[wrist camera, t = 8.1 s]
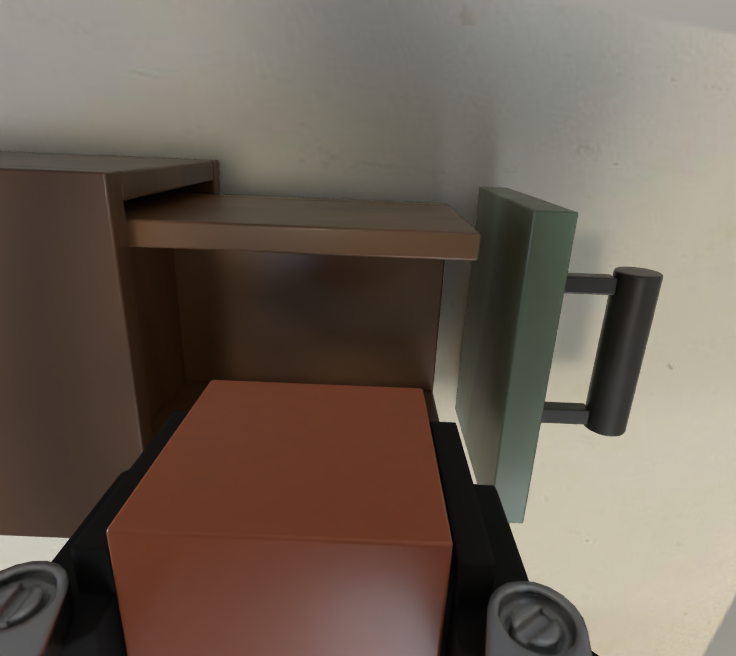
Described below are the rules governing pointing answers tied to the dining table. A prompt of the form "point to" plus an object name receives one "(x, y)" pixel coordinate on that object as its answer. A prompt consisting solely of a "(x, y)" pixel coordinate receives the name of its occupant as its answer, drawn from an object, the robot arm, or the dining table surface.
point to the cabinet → (72, 330)
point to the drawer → (381, 309)
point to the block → (288, 528)
